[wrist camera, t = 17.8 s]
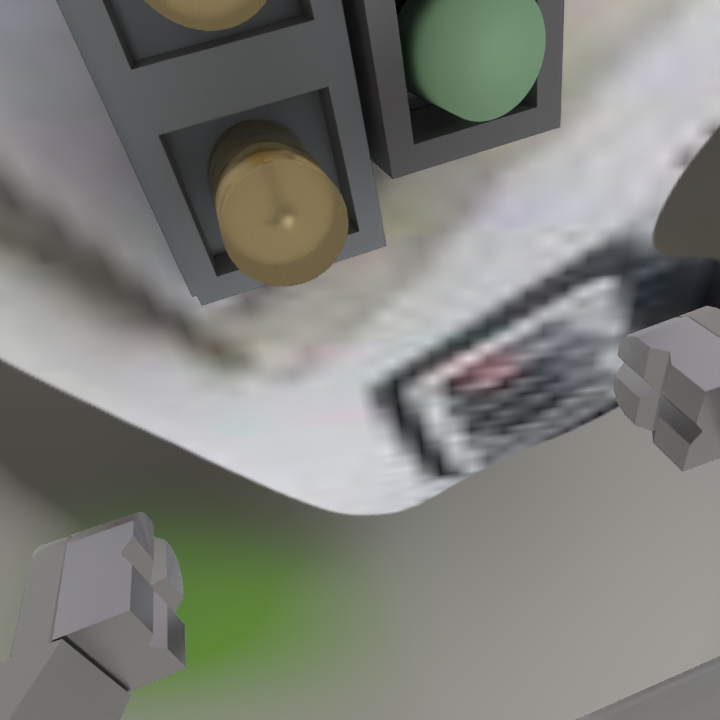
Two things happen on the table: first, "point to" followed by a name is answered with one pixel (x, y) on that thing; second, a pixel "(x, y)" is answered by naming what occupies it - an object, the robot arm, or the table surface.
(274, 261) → the cylinder
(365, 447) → the table surface
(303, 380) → the table surface
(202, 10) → the billet
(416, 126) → the button housing
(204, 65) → the compartment tray
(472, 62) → the button
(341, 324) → the table surface
